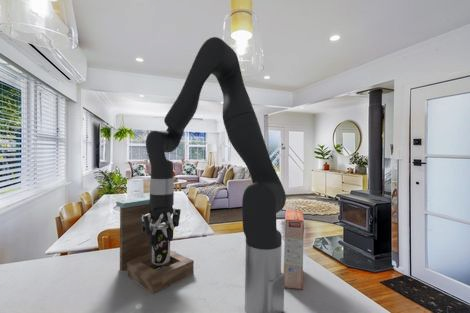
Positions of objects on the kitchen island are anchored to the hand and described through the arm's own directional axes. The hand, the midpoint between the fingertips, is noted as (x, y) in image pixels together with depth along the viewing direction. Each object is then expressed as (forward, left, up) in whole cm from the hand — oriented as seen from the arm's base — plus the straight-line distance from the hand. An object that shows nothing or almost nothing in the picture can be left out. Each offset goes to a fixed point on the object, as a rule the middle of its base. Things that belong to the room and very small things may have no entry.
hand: (161, 242), depth 79 cm
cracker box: (-34, -27, -11) cm, 45 cm away
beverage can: (0, 0, -7) cm, 7 cm away
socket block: (0, 0, -11) cm, 11 cm away
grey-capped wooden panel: (+13, 0, -11) cm, 17 cm away
